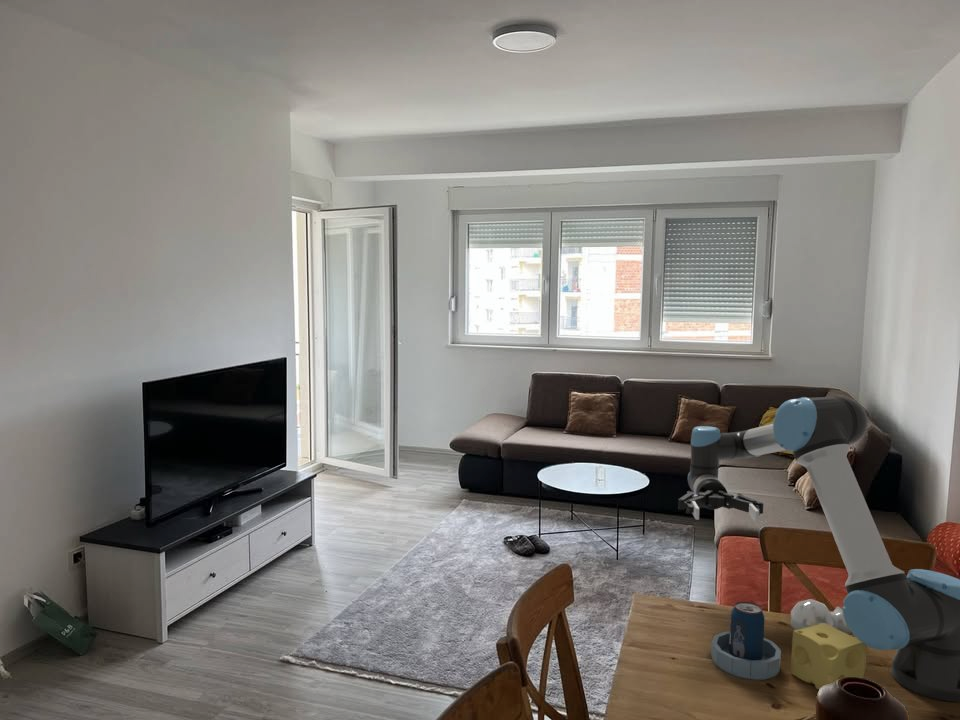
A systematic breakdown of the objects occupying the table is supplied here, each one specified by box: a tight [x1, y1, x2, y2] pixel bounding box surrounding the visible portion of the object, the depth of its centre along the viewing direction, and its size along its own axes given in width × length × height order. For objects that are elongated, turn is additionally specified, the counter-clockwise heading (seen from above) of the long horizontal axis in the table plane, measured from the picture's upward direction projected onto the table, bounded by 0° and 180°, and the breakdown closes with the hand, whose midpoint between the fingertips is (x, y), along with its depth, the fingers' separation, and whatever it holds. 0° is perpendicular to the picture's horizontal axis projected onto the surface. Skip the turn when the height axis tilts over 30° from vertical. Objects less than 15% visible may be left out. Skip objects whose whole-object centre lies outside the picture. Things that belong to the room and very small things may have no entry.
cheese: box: [790, 623, 868, 690], centre depth 150 cm, size 10×11×10 cm
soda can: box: [729, 600, 766, 660], centre depth 157 cm, size 7×7×12 cm
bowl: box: [710, 631, 782, 681], centre depth 157 cm, size 14×14×4 cm
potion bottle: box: [790, 598, 854, 636], centre depth 169 cm, size 9×10×15 cm
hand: (727, 515), depth 168 cm, fingers open, 13 cm apart
